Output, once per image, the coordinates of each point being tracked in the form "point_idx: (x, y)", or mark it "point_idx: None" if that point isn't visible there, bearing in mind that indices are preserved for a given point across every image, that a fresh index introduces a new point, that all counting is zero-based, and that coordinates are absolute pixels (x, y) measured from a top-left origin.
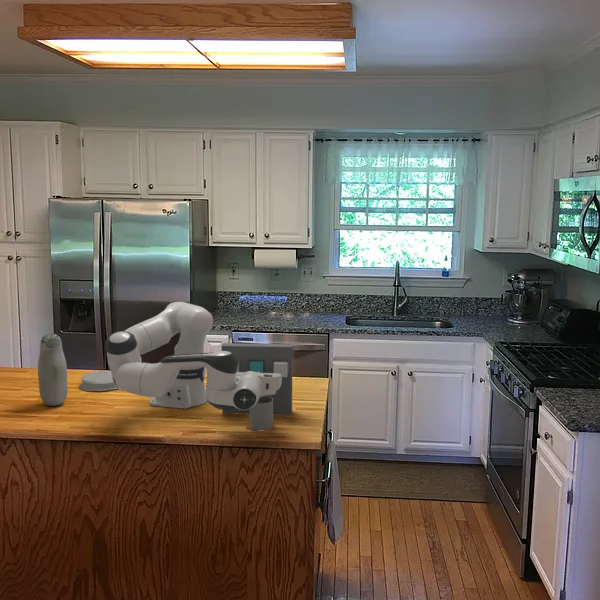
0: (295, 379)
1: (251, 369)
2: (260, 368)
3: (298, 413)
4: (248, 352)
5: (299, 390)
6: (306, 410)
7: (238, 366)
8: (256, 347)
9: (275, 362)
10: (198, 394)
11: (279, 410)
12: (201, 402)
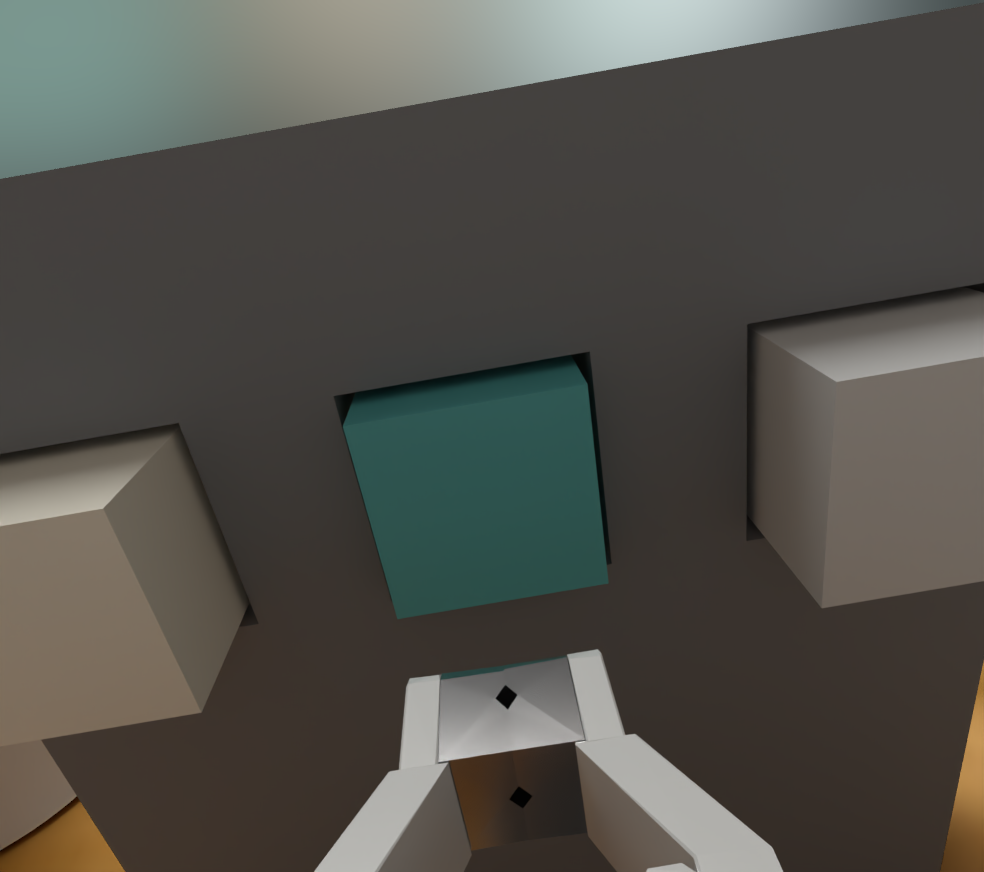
0: None
1: (407, 542)
2: (553, 499)
3: (972, 811)
4: (283, 264)
5: None
6: (980, 721)
7: (164, 551)
8: (410, 129)
9: (824, 351)
10: (3, 748)
11: (812, 864)
12: (60, 791)
